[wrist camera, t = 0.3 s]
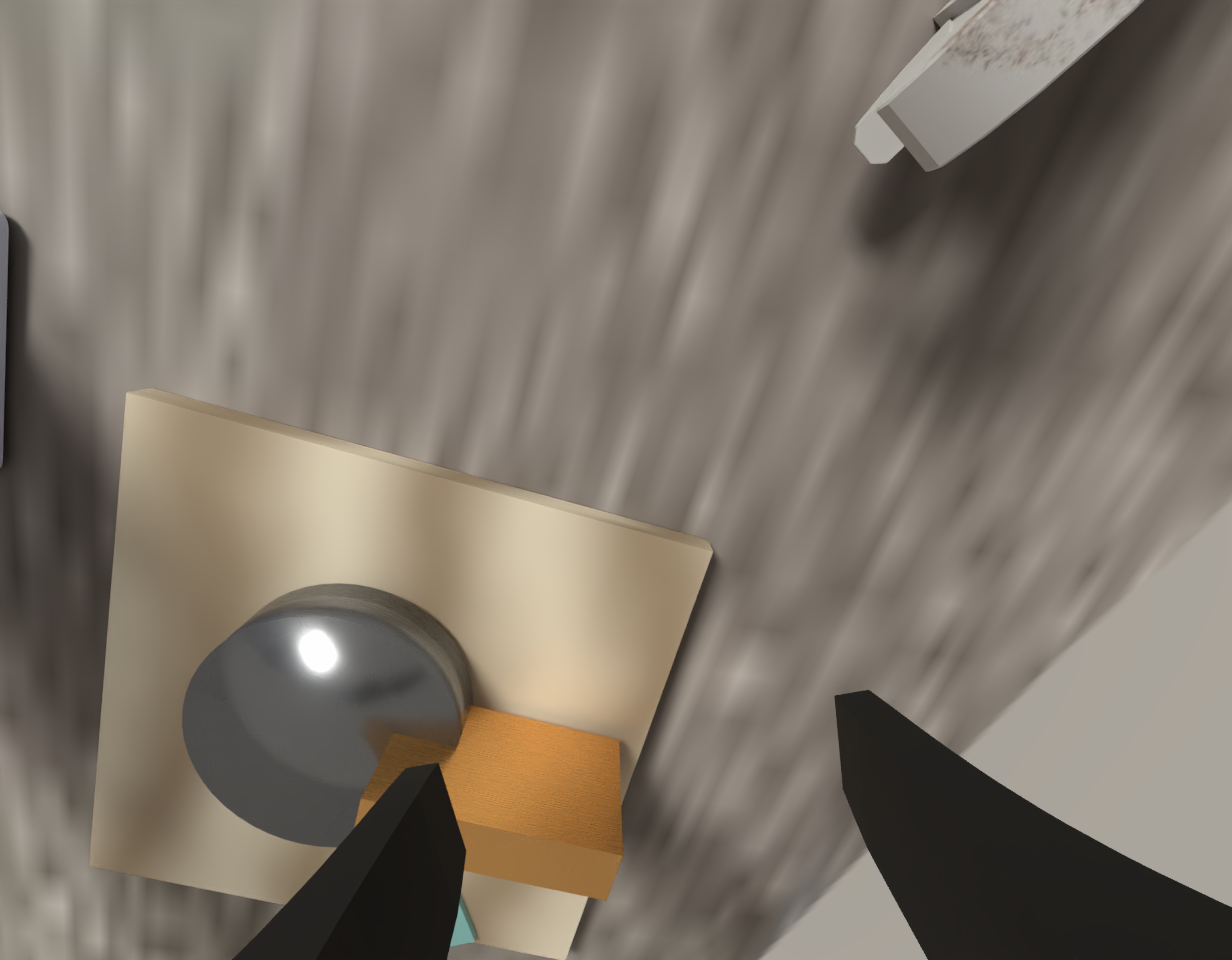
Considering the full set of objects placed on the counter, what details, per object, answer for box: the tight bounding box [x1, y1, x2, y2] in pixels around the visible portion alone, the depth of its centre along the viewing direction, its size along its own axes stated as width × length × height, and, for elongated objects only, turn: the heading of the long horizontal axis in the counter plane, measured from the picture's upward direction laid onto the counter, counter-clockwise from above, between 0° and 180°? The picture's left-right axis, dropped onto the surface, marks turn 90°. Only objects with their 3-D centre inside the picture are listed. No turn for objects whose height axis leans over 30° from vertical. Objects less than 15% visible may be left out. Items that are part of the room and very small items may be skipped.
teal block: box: [450, 896, 476, 947], centre depth 23 cm, size 2×1×1 cm, turn 13°
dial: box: [182, 583, 623, 901], centre depth 18 cm, size 13×8×5 cm, turn 74°
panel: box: [89, 388, 713, 960], centre depth 21 cm, size 18×18×1 cm
